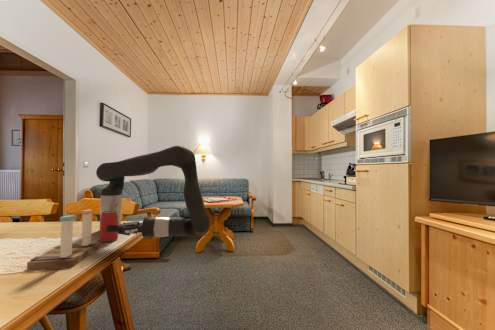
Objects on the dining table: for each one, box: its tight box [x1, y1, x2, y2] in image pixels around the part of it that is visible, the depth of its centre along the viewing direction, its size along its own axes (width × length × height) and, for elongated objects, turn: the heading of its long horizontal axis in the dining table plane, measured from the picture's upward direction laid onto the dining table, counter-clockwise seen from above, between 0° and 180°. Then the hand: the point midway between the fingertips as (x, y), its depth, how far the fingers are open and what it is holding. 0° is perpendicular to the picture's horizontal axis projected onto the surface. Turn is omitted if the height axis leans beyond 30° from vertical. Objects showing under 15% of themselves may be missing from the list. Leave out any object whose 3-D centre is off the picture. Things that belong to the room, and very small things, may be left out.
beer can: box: [99, 211, 119, 243], centre depth 101 cm, size 7×7×12 cm
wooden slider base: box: [26, 242, 99, 271], centre depth 80 cm, size 18×12×2 cm, turn 11°
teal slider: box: [59, 214, 76, 258], centre depth 74 cm, size 4×2×12 cm, turn 11°
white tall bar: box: [80, 209, 94, 246], centre depth 86 cm, size 4×2×12 cm, turn 11°
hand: (107, 228), depth 88 cm, fingers closed
